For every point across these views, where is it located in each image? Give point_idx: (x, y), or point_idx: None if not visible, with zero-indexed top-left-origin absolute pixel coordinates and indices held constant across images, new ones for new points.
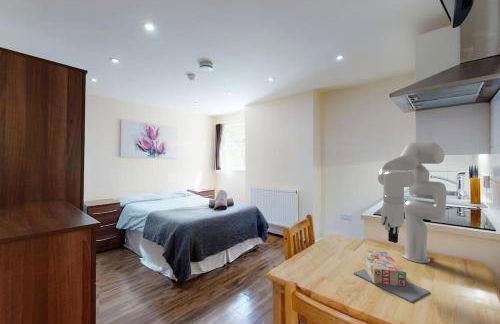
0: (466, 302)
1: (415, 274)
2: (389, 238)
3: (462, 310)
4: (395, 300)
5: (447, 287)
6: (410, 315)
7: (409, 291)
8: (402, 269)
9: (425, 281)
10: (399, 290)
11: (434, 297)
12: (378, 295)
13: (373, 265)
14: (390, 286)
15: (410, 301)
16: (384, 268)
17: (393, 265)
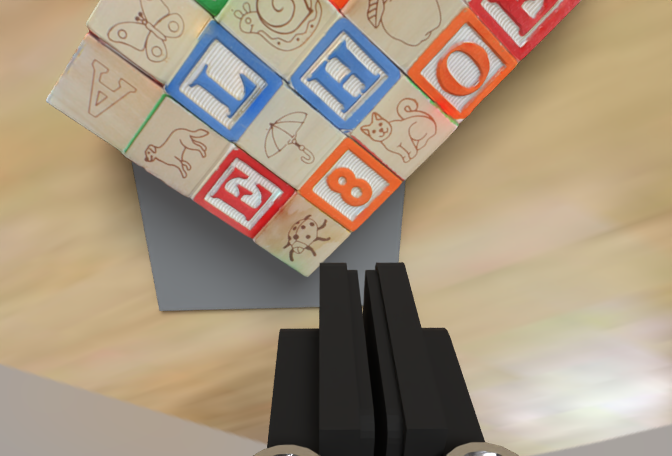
0: None
1: (624, 131)
2: (279, 344)
3: None
4: (85, 254)
5: (566, 312)
6: (40, 352)
7: (265, 254)
8: (332, 238)
9: (547, 220)
10: (210, 219)
11: None
12: (13, 173)
13: (107, 42)
14: None
15: (160, 303)
16: (167, 152)
17: (339, 154)
